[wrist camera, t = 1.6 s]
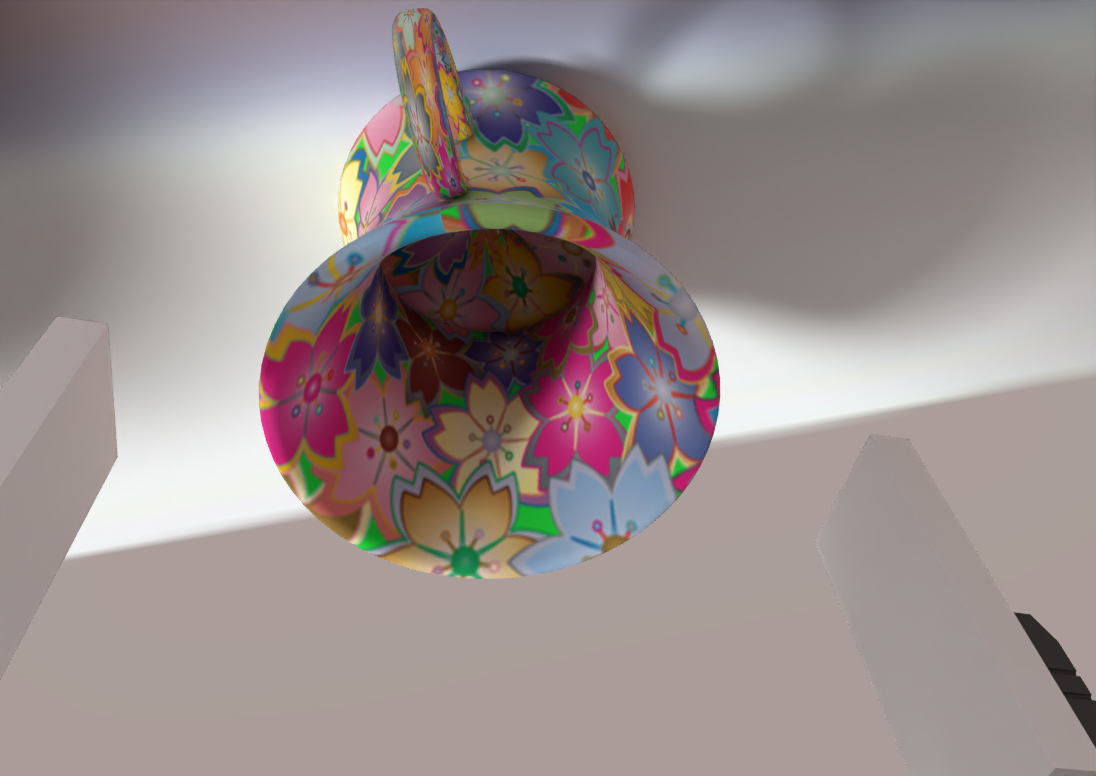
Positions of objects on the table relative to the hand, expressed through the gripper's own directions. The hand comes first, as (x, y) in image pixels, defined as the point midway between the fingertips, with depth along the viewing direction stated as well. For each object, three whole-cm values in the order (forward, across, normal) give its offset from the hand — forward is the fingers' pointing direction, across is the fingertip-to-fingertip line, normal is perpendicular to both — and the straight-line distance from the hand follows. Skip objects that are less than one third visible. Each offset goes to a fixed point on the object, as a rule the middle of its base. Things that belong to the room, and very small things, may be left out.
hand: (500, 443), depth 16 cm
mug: (+13, -1, 0) cm, 13 cm away
